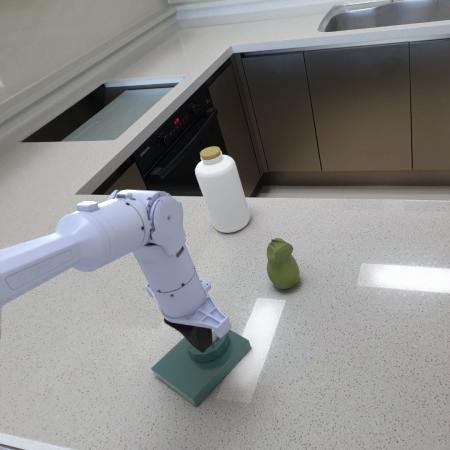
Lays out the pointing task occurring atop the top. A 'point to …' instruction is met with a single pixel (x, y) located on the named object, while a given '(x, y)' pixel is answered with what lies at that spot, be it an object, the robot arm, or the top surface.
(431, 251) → the top surface
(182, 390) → the green socket base
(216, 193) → the white bottle
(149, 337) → the top surface
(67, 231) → the robot arm
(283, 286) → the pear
